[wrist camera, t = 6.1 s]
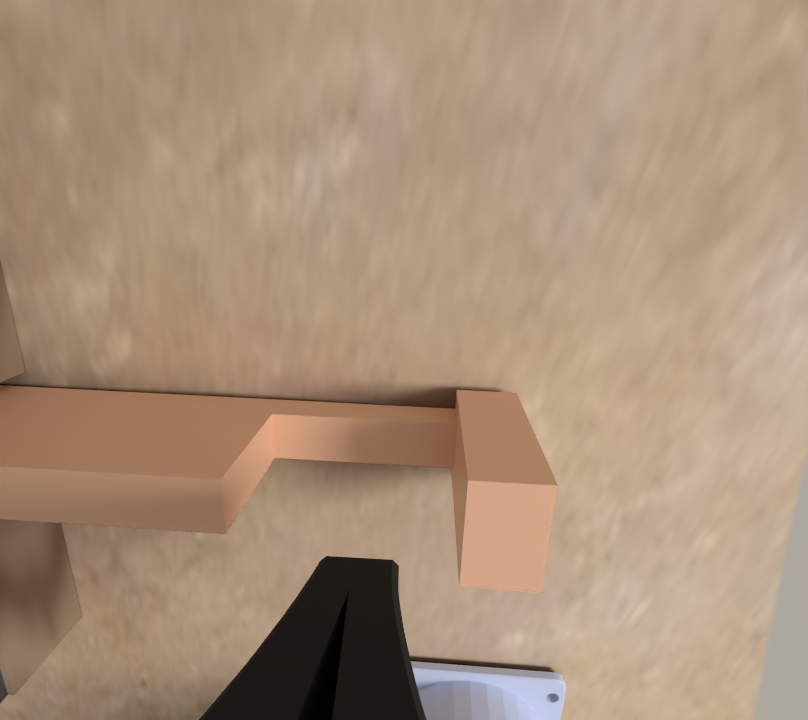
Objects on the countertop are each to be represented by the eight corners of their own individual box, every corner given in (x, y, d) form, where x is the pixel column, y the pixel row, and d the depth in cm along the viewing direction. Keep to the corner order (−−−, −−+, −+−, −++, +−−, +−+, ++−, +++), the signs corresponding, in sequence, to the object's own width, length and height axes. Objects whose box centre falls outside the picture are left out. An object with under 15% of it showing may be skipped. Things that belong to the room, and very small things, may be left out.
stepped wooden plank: (507, 471, 17) (541, 592, 11) (-103, 435, 18) (-330, 531, 13) (516, 392, 16) (557, 485, 11) (-128, 360, 17) (-385, 430, 12)
